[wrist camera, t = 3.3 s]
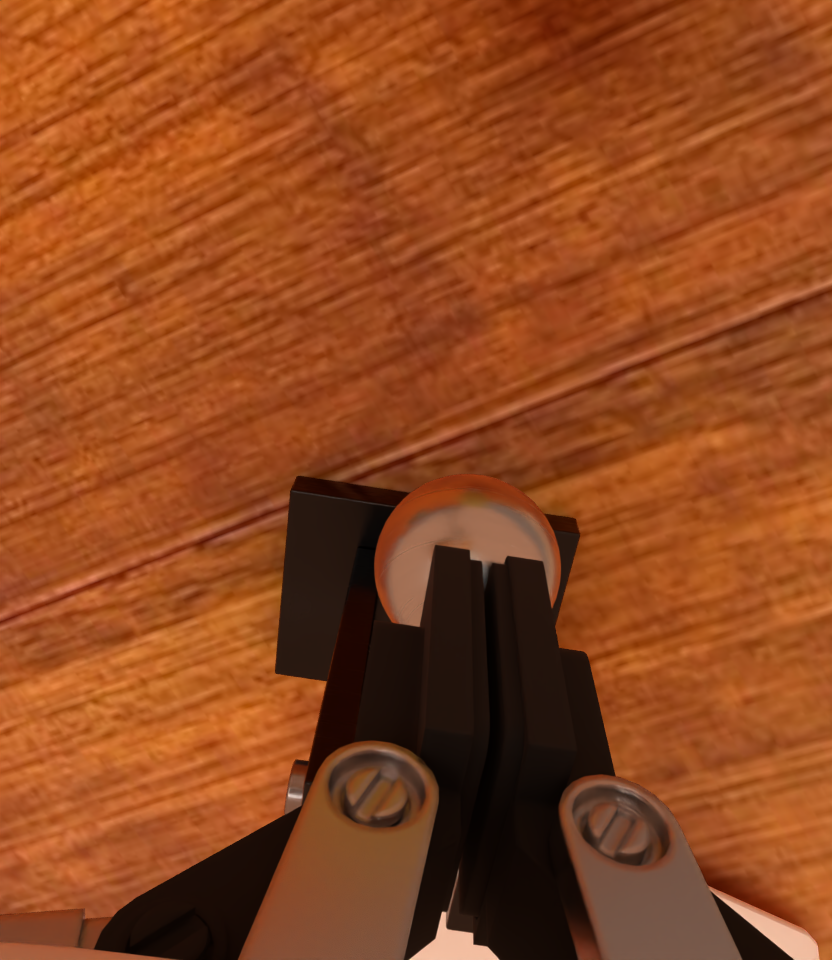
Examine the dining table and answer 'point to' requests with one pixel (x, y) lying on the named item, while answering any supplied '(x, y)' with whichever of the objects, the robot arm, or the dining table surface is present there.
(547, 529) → the lever
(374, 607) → the switch bracket
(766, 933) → the plate
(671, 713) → the dining table surface
